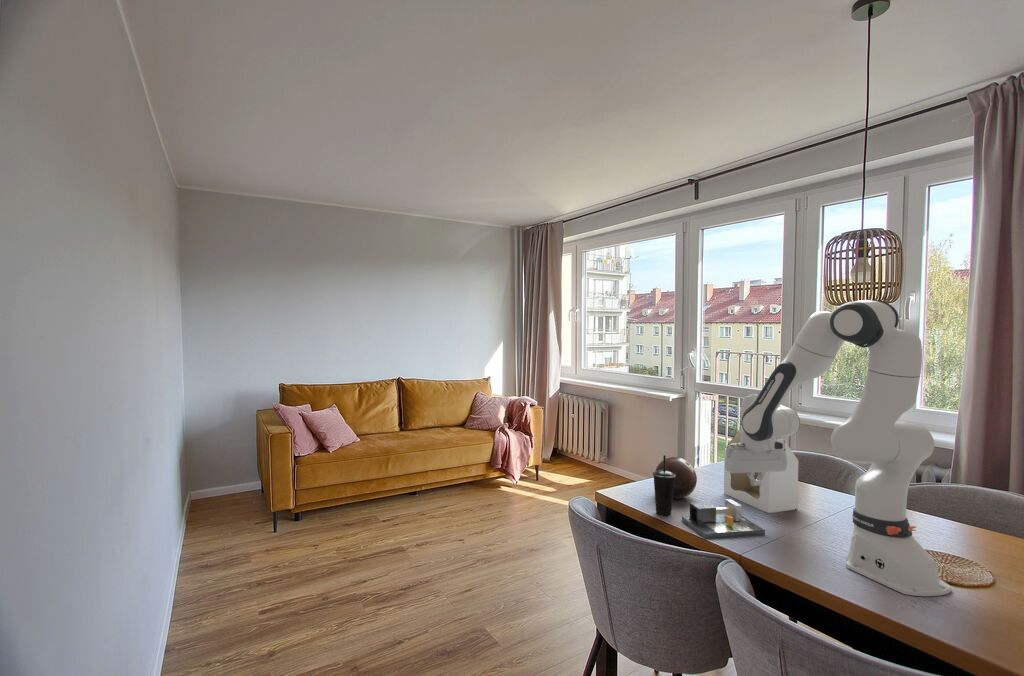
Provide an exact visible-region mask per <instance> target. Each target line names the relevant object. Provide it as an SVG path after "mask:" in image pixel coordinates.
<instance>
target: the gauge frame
mask: <svg viewBox="0 0 1024 676" xmlns="http://www.w3.org/2000/svg"><path fill="white" fill-rule="evenodd" d="M716 508H717V506H714V505H713V504H711V503H709V502H707V501H702V502H701V501H699V502H689V515H684V516H683V515H682V516H681V521H682V523H684V524H686V526H688V527H689V528H690V529H692V530H693V531H694V532H695V533H697V534H698V535H699V536H701V537H702V538H703V539H705V540H706V539H721V538H736V537H748V536H749V537H750V536H751V537H753V536H766V530H765V529H764V528H762V527H761V526H759V525H758V524H756V523H755V522H753V521H751V520H749V519H747V518H746V517H744V516H742V518H743V519H745V520H746V523H744V524H743V523H741V522H740V521H735V520H733V526H729V525H728V524H726V516H727V515H725V514H716Z"/></svg>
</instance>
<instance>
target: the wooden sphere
mask: <svg viewBox="0 0 1024 676" xmlns="http://www.w3.org/2000/svg"><path fill="white" fill-rule="evenodd" d="M658 470H663V460H661V461H660V462H659V463H658V464H657V466H656V469H655V471H658ZM665 470H667V471H670V472H672V473H674V474H676V477H675V483H674V492H673V499H678V500H679V499H683V498H684V499H685V498H686V497H688V496H690V495H692V493H693V492H694V491H695V489H696V486H697V484H698V483H697V481H698V479H697V478H698V477H697V472H696V469H694V467H693V466H692V464H691V463H690V462H688V460H686V459H684V458H681V457H679V456H672V457H666V460H665Z"/></svg>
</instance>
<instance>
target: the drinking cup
mask: <svg viewBox="0 0 1024 676" xmlns="http://www.w3.org/2000/svg"><path fill="white" fill-rule="evenodd" d="M662 457H663V458H662V459H663V460H662V461H663V470H658V471H656V470H655V471H652V476H653V487H654V498H655V511H656V515H658V516H660V515H662V516H661V517H670V516H671V515H672V511H673V510H672V509H673V500H674V498H673V492H674V483H675V477H676V474H674V473H672V472H670V471H667V470H665V460H666V459H667V457H666V454H665V455H664V454H663V456H662ZM669 515H670V516H669Z"/></svg>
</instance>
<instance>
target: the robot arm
mask: <svg viewBox="0 0 1024 676" xmlns="http://www.w3.org/2000/svg"><path fill="white" fill-rule="evenodd" d="M899 322H900V316H899V312H898V311H897V309H896V308H895V307H894V306H893V305H892V304H890V303H888V302H885V301H882V300H876V299H875V300H870V299H861V300H855V301H848V302H845V303H843V304H841V305H839V306H838V307H837V308H835V310H834V311H833V312H831V311H826V310H823V311H822V310H821V311H817V312H813V314H811V315H810V316H809V317H808V319H807V320H806V322H805V323H804V325H803V326H802V327H801V329H800V331H799V332H798V334H797V336H796V338H795V340H794V342H793V344H792V346H791V348H790V350H789V351H788V352H787V354H786V356H785V357H784V358H783V359H782V360H781V362H780V363H779V364H778V365H777V367H775V369H774V370H773V371H772V372H771V374H770V376H769V377H768V379H767V380H766V383H765V384H764V385H763V387H762V389H761V391H760V392H759V393H753V394H746V395H745V396H743V398H742V400H741V405H740V422H741V425H742V428H741V429H742V430H741V443H739V444H730V445H729V446H728V447H727V446H726V447H727V448H726V447H725V448H726V461H725V468H726V470H727V471H728V472H731V473H747V475H748V477H749V479H750V484H751V485H752V486H761V485H762V480H763V478H764V476H765V472H775V471H785V470H786V468H787V456H786V452H785V451H784V449H785V443H783V442H780V441H777V440H775V439H774V438H780V439H782V438H788V437H791V436H795V435H796V434H797V433H798V432H799V430H800V427H801V419H800V417H799V415H798V413H797V411H795V409H794V408H791V407H789V406H786V405H783V404H782V402H783V401H784V400H785V398H786V395H787V394H789V392H790V391H791V390H792V389H794V388H795V387H796V386H799V385H800V384H803V383H806V382H808V381H811V380H813V379H816V378H819V377H821V376H823V375H824V374H825V373H826V372H827V370H828V369H830V367H831V365H832V364H833V362H834V360H835V358H836V356H837V354H838V352H839V351H840V348H841V346H842V345H843V344H844V343H845V342H848V343H851V344H853V345H855V346H857V347H859V348H862V349H864V348H865V349H866V348H867V349H868V351H869V359H868V364H867V371H866V376H865V377H866V378H865V382H864V386H863V391H862V395H861V398H860V400H859V402H858V404H857V406H856V407H855V408H854V410H853V412H852V413H851V414H850V415H849V416H848V417H847V419H845V420H844V421H843V422H842V423H840V424H839V425H837V426H836V427H835V428H834V429H833V431H832V432H831V435H830V443H831V446H832V450H833V451H834V453H835V454H836V456H838V458H840V459H841V460H843V461H847V462H851V463H858V464H871V465H870V466H869V468H868V469H867V471H866V472H864V473H863V474H862V475H861V476H859V477H858V478H857V480H856V481H855V488H854V489H855V496H854V508H853V509H852V523H853V530H852V535H851V538H850V540H851V541H850V546H849V551H848V553H847V556H846V562H845V563H846V565H845V567H846V568H847V569H849V570H851V571H853V572H856V573H858V574H859V575H863V576H864V577H866V578H868V579H871V580H873V581H875V582H877V583H879V584H881V585H884V586H885V587H888V588H890V589H892V590H895V591H897V592H899V593H902V594H903V595H907V596H914V597H915V596H917V597H936V596H944V595H948V594H950V593H951V592H952V586H951V585H950V584H948V582H946V581H943V580H942V579H941V578H940V577H939V576H940V574H939V568H938V565H937V562H936V560H935V559H934V558H932V556H931V555H930V553H928V552H927V551H926V549H924V548H923V546H922V545H921V544H920V543H919V542H918V541H917V540H916V538H914V536H913V532H914V531H915V532H916V531H917V530H916V528H917V526H916V525H914V526H913V525H912V526H911V525H910V522H909V520H908V519H909V518H907V503H908V501H907V500H908V491H909V486H910V484H911V481H912V479H913V477H914V475H915V473H916V471H917V469H918V468H919V466H920V465H921V464H922V463H923V462H924V461H925V460H926V459H928V458H929V457H931V455H932V454H933V452H934V449H935V440H934V437H933V435H932V433H931V432H930V431H929V429H928V428H926V427H925V426H923V425H921V424H918V423H913V422H909V421H903V420H899V419H900V417H901V416H902V415H904V414H905V413H907V412H908V411H909V410H911V409H912V408H913V407H914V406H915V404H916V401H917V398H918V397H917V395H918V390H919V385H920V381H921V373H922V366H923V347H922V345H923V344H922V340H921V338H920V337H919V336H918V335H917V334H915V333H913V332H912V331H909V330H907V329H902V328H900V329H899V328H897V327H898V326H899ZM755 472H757V474H759V475H758V477H757V479H754V477H753V476H755Z"/></svg>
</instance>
